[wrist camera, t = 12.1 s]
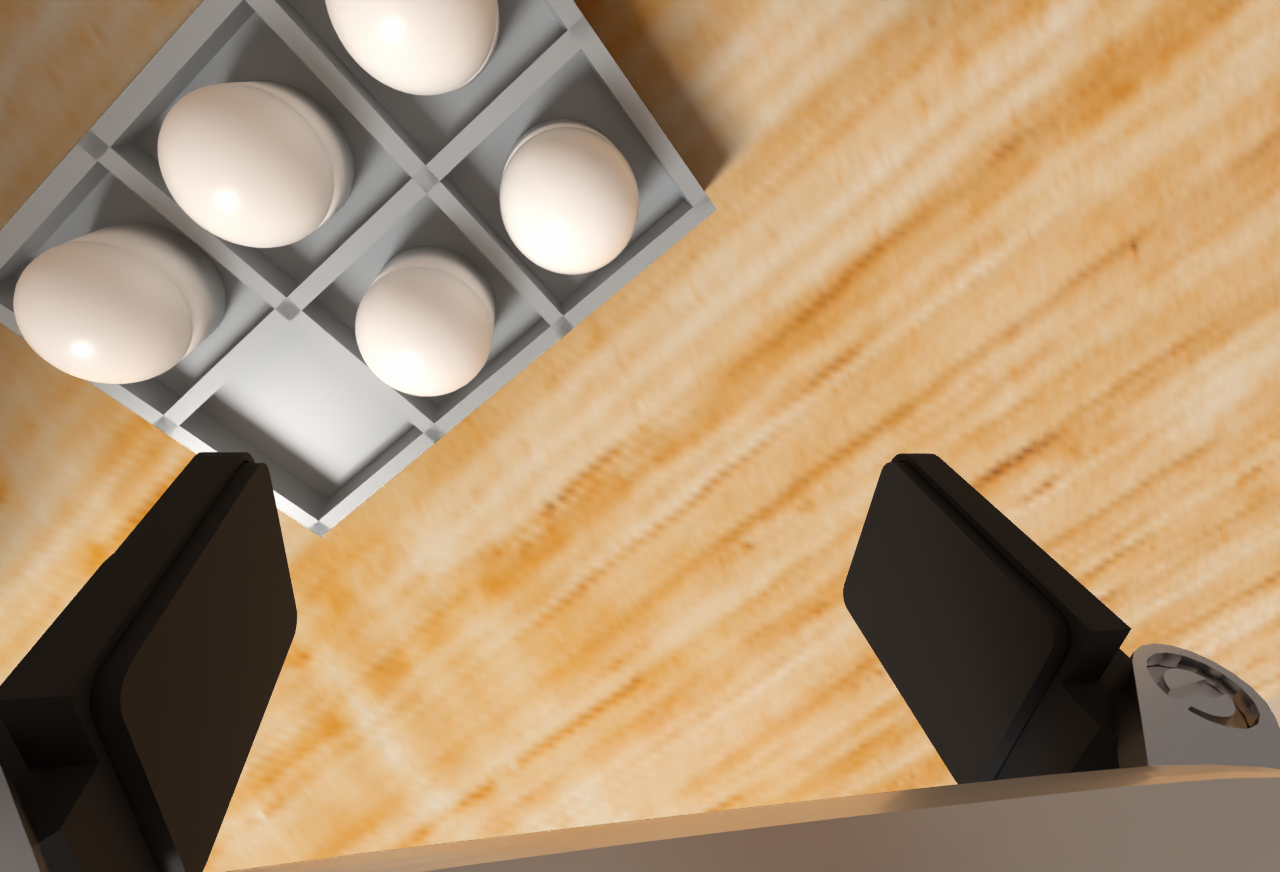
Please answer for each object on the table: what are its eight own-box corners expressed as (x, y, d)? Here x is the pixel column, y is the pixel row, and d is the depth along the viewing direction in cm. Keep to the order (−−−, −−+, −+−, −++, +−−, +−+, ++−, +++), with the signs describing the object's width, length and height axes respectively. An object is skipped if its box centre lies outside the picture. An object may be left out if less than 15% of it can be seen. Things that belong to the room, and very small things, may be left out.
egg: (562, 274, 24) (570, 321, 20) (475, 181, 22) (463, 211, 18) (651, 193, 23) (679, 225, 19) (568, 88, 21) (579, 97, 17)
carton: (335, 502, 29) (295, 596, 24) (4, 267, 22) (-152, 327, 17) (699, 197, 25) (746, 231, 20) (424, -200, 18) (385, -304, 13)
